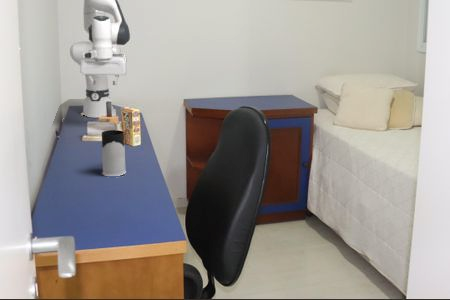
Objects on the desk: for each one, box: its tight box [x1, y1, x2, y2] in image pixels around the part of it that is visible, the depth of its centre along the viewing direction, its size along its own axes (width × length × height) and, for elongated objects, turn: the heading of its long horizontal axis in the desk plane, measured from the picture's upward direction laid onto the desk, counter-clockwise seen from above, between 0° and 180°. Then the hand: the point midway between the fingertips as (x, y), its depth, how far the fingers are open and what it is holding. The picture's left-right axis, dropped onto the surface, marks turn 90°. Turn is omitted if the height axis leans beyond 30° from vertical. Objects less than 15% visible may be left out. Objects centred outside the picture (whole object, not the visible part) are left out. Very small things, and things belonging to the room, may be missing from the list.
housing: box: [96, 118, 111, 122], centre depth 241 cm, size 4×5×6 cm
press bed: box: [81, 121, 122, 142], centre depth 245 cm, size 24×16×8 cm, turn 1°
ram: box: [98, 100, 120, 129], centre depth 250 cm, size 6×8×12 cm
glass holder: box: [101, 130, 127, 176], centre depth 190 cm, size 9×14×15 cm, turn 15°
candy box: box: [120, 106, 142, 147], centre depth 228 cm, size 9×4×15 cm, turn 44°
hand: (104, 84), depth 241 cm, fingers open, 8 cm apart
